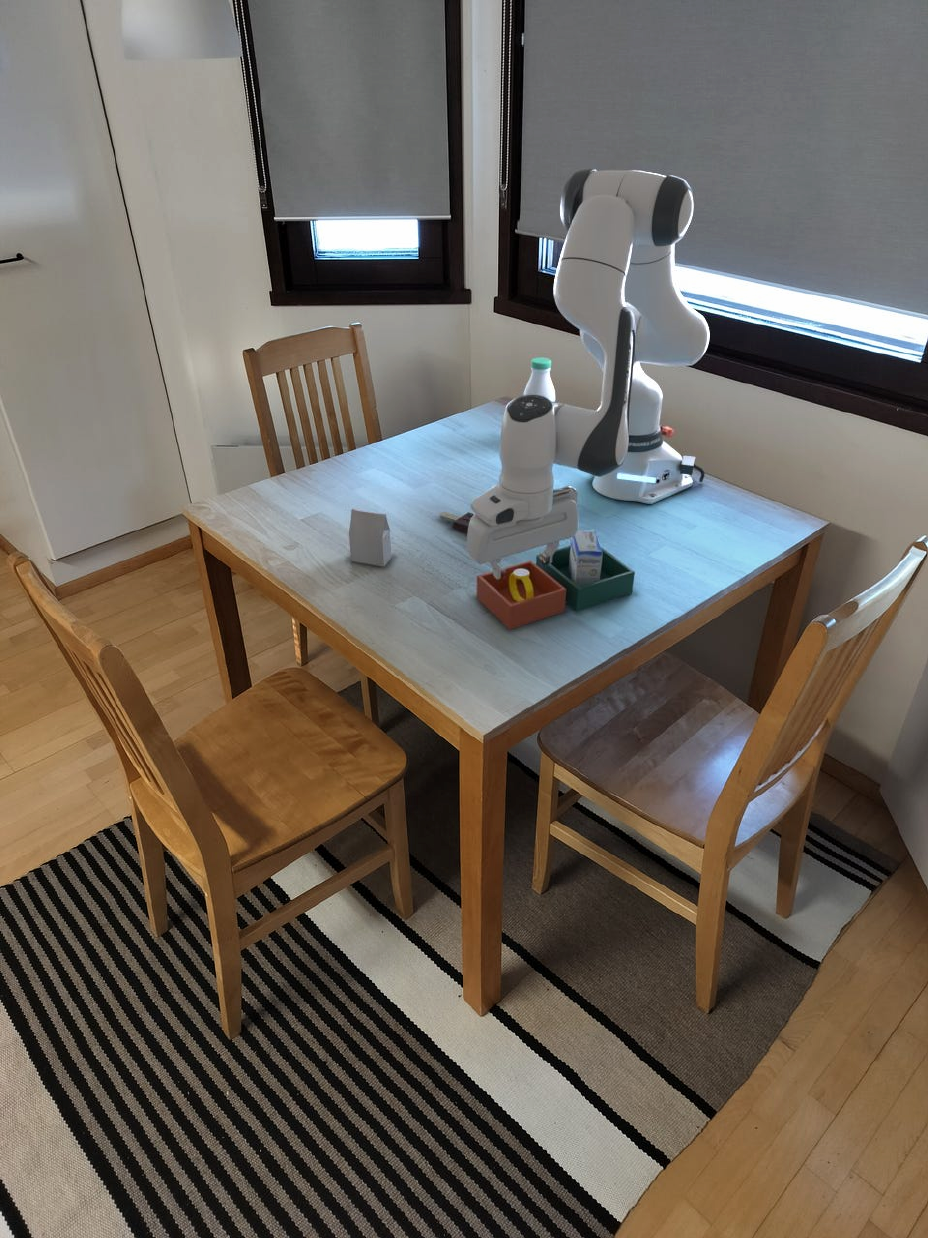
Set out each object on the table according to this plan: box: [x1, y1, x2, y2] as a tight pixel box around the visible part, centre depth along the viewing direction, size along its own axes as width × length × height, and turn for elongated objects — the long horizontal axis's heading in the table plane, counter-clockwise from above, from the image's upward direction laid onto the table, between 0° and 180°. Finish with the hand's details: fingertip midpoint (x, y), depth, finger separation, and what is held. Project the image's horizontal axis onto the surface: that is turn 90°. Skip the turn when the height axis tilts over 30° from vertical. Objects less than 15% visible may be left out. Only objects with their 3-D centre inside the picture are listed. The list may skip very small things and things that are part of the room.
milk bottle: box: [523, 357, 556, 402], centre depth 208 cm, size 8×8×20 cm
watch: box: [509, 569, 534, 602], centre depth 152 cm, size 6×3×6 cm, turn 29°
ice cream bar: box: [439, 511, 475, 534], centre depth 177 cm, size 5×2×15 cm
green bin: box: [535, 545, 636, 612], centre depth 158 cm, size 12×13×5 cm
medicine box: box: [568, 529, 603, 587], centre depth 156 cm, size 8×4×9 cm, turn 2°
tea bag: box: [348, 508, 392, 568], centre depth 164 cm, size 4×7×10 cm, turn 71°
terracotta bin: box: [476, 560, 566, 630], centre depth 152 cm, size 11×11×5 cm
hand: (522, 569), depth 150 cm, fingers open, 8 cm apart
